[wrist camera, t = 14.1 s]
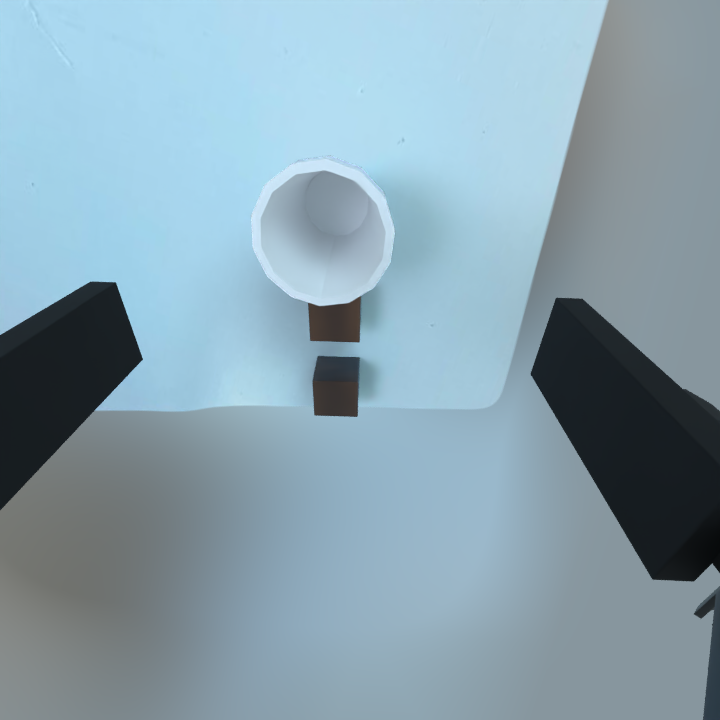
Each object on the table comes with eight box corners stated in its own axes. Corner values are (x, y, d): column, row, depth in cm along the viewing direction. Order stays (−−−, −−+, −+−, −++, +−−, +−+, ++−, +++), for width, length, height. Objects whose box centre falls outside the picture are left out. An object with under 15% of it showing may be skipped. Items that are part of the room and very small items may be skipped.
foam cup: (382, 138, 33) (389, 150, 22) (391, 245, 38) (400, 297, 27) (276, 153, 33) (231, 172, 23) (298, 256, 38) (270, 311, 28)
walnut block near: (361, 277, 40) (360, 296, 35) (360, 320, 42) (359, 342, 38) (314, 276, 40) (307, 295, 35) (316, 318, 42) (310, 340, 38)
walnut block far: (359, 357, 45) (358, 382, 41) (358, 390, 48) (357, 416, 44) (317, 356, 45) (312, 380, 41) (319, 389, 48) (314, 415, 44)
